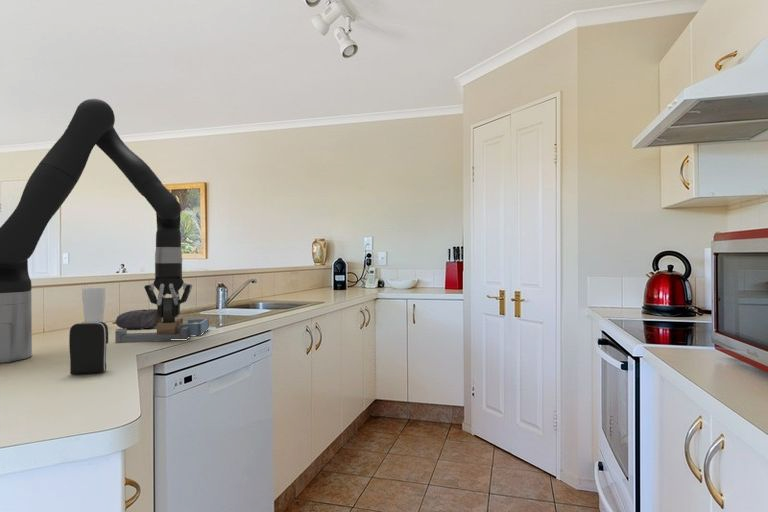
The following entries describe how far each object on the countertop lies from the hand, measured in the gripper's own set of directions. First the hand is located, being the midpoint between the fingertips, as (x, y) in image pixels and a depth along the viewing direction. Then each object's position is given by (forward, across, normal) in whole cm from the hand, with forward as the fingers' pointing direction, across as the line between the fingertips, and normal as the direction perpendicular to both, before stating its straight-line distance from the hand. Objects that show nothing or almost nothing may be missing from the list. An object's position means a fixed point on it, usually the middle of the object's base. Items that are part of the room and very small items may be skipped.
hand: (168, 316), depth 133 cm
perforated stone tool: (+7, -17, +23) cm, 30 cm away
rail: (+7, -4, 0) cm, 8 cm away
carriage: (+7, 0, +5) cm, 8 cm away
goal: (+7, +5, +10) cm, 13 cm away
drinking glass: (+7, -32, +24) cm, 41 cm away
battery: (+7, -6, -36) cm, 37 cm away
